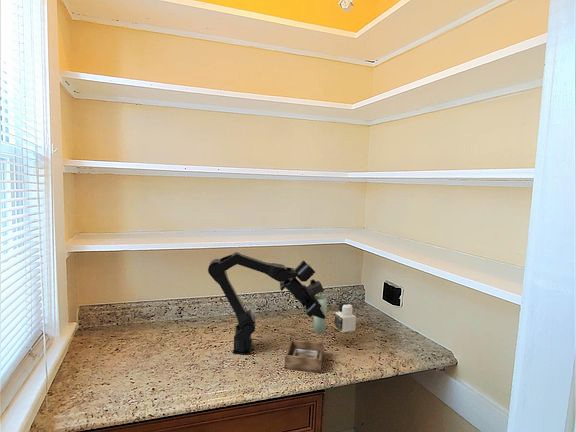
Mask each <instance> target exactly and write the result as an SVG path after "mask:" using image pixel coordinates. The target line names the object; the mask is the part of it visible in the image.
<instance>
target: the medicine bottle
mask: <svg viewBox="0 0 576 432" xmlns="http://www.w3.org/2000/svg"><path fill="white" fill-rule="evenodd" d="M356 319H357V317H356V315H355V314H353V305H352V304H351V303H350V302H340V303H339V305H338V311H335V313H334V328H336V329H337V330H338V331H339V333H342V334H343V333H349V332H355V331H356V321H357V320H356Z"/></svg>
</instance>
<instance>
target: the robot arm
mask: <svg viewBox="0 0 576 432" xmlns="http://www.w3.org/2000/svg"><path fill="white" fill-rule="evenodd" d="M236 265H238V266H242V267H244V268H248V269H250V270H254V271H257V272H260V273H262V274H265V275H267V276H268V277H270V278H271V279H273V280H274V281H276V282H278V283H279V290H280V291H281V292H282V291H284V289H286V290H287V291H288V292H289V293H290V294H291V295H292V296H293V297H294V299H295V300H297V301H298V302H299V303H300V305H301V306H302V307H303V308H304V307H305V308H304V311H305V313H306V315H307V316H308V317H309V318H311V317H314V316H316V317H319V318H322V319H325V318H326V319H327V316H326V317H325V315H324V314H323V312H322V311H321V309H320V308H321V304H320V303H319V302H318V301H317V300H314V299H315V297H316V296H317V295H318V294H319V293H323V292H324V291H325V290H324V288H323V285H322V283H321V281H320V280H315V279H311V277H313V276H314V274H316V271H315V269H314V268H312V266H311V265H310V264H308V263H307V262H306V261H305V260H302V261H300V263H299V265H297V266H296V267H295V268H294V267H288V266H285V265H284V264H282V263H276V262H275V263H274V262H272V263H271V262H265V261H262V260H261V259H257V258H254V257H251V256H248V255H245V254H242V253H240V252H237V251H236V252H233V253H231V254H229V255H225V256H224V257H221V258H214V259H211V261H210V262H209V265H208V268H207V272H208V274H209V276H210V277H211V278H212V279H213V280H214V282H215V283H216V284H218V285H219V287H220V289H221V290H222V291H223V294H224V296H225V298H226V299H227V301H228V303H229V304H230V307H231V308H232V310H233V312H234V314H235V315H236V319H237V323H238V324H236V326H235V331H234V336H233V350H232V354H236V355H245V356H248V355H249V354H250V352H251V351H252V350H253V338H252V334H253V333H254V332H255V331H256V317H255V315H254V314H253V313H252V312H253V311H252V309H248V310H247V308H245V306H244V304H243V302H242V301H241V299H240V297H239V295H238V293H237V291H236V290H235V288H234V286H233V285H232V283H231V281H230V279H229V275H228V273H227V270H230V269H231V268H232V267H235V266H236ZM309 279H311V280H310V282H309V284H308V285H307V286H306V285H305V284H303V283H305V282H307V281H308V280H309Z"/></svg>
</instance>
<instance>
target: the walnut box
mask: <svg viewBox="0 0 576 432" xmlns="http://www.w3.org/2000/svg"><path fill="white" fill-rule="evenodd" d="M324 346H325V343H324V342H316V341H306V340H295V339H291V340H290V341H289V343H288V346H287V350H286V352H285V354H284V370H288V371H289V370H290V371H297V372H307V373H315V374H316V373H317V374H321V373H322V368H323V367H322V366H323V361H324V360H323V359H324V352H325V351H324V348H325V347H324Z"/></svg>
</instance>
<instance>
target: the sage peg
mask: <svg viewBox="0 0 576 432" xmlns="http://www.w3.org/2000/svg"><path fill="white" fill-rule="evenodd" d="M315 296H316V297H315V299H314V300H317V301H318V302H319V303H320V304H321V308H320V309H321V311H322V312H323V314H324V315H325V317H326V318H325V319H322V318H319V317H316V316H313V333H315V334H318V335H323V334H325V333H326V330H327V307H328V306H327V305H328V302H327V301H328V298H327V297H326V296H324V295H315Z"/></svg>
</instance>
